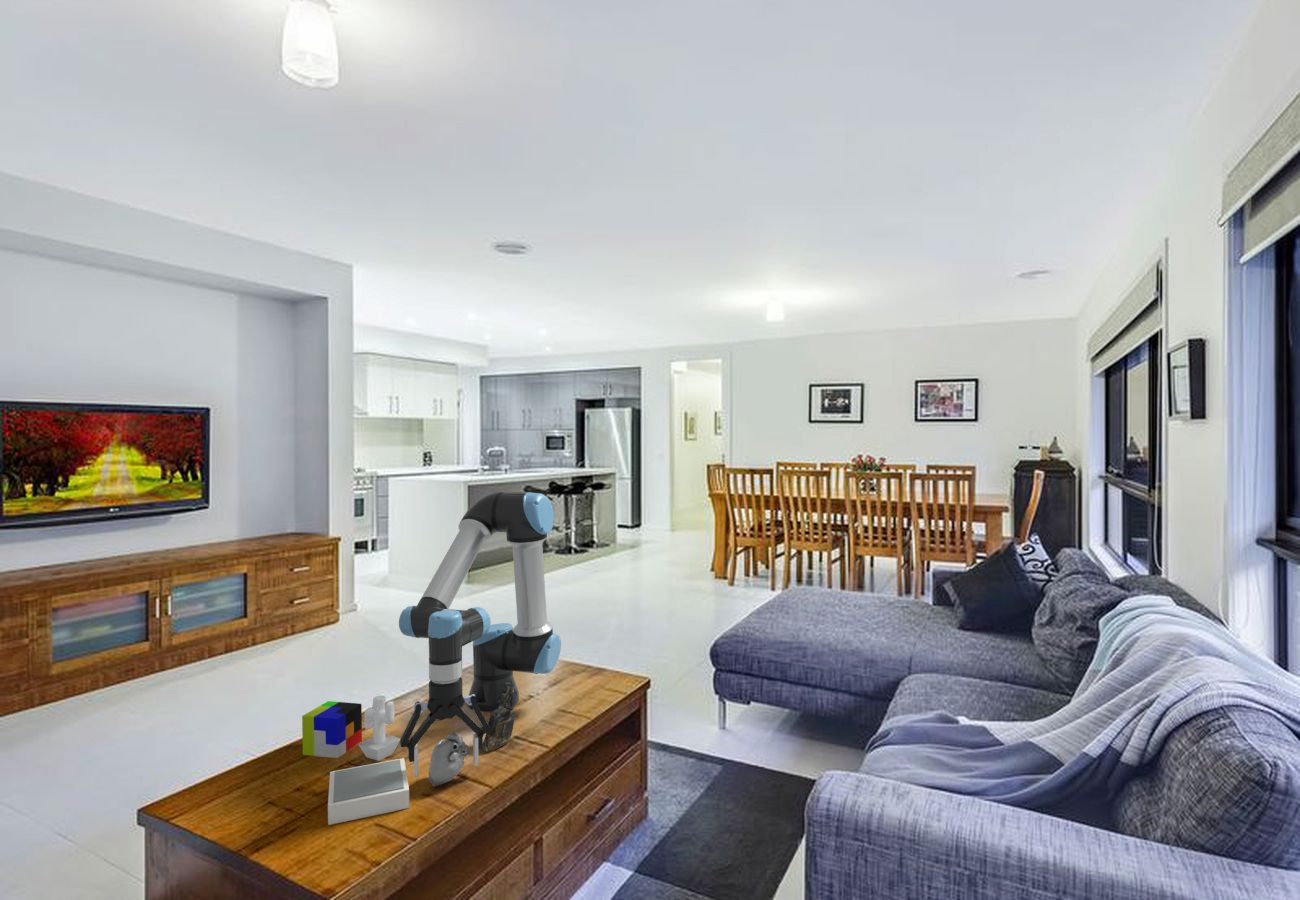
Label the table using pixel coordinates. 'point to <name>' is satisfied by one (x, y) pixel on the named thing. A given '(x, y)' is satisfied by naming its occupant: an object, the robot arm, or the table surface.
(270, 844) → the table surface
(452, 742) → the heart
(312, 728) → the puzzle toy
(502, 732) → the statue
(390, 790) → the plinth
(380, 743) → the figurine
